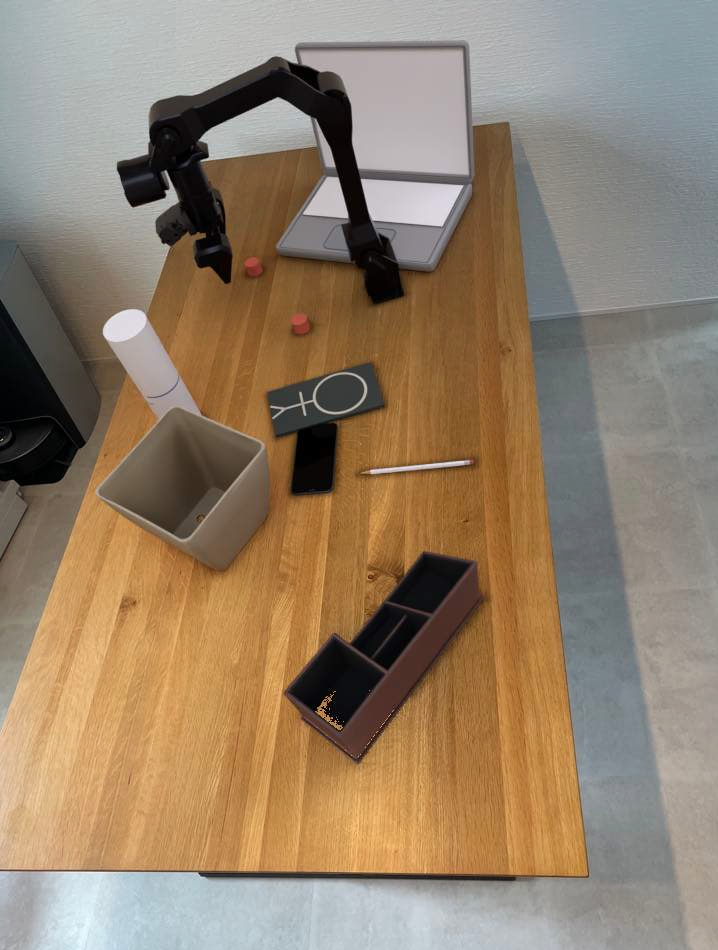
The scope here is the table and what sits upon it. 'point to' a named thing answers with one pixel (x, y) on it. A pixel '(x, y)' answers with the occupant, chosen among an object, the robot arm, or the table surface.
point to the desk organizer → (386, 653)
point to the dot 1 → (253, 266)
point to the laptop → (394, 148)
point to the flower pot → (193, 486)
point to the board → (324, 399)
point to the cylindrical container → (147, 362)
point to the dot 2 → (300, 323)
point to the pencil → (419, 467)
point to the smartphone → (315, 460)
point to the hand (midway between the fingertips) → (225, 267)
